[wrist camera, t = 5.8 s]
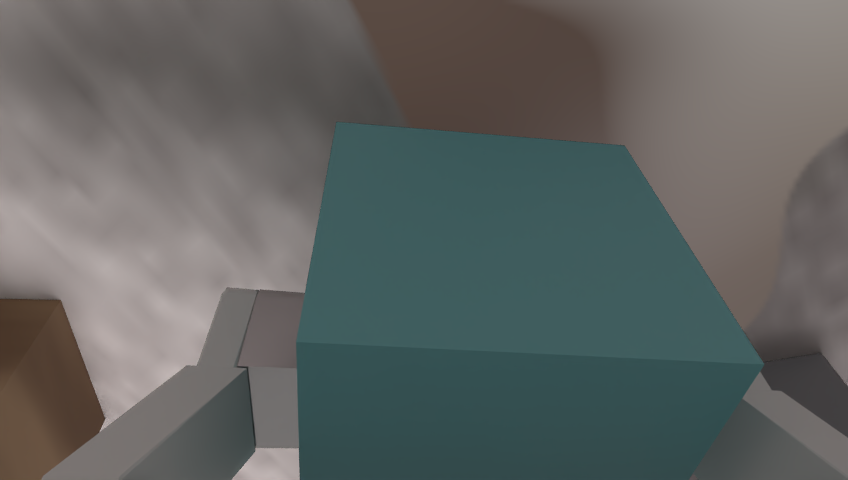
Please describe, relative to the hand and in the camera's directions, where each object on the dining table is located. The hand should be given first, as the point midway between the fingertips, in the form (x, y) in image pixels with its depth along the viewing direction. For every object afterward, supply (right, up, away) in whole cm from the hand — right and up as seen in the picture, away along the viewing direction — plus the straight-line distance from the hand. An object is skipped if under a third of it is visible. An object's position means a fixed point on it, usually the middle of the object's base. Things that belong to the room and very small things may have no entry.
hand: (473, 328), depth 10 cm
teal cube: (0, +1, +2) cm, 2 cm away
